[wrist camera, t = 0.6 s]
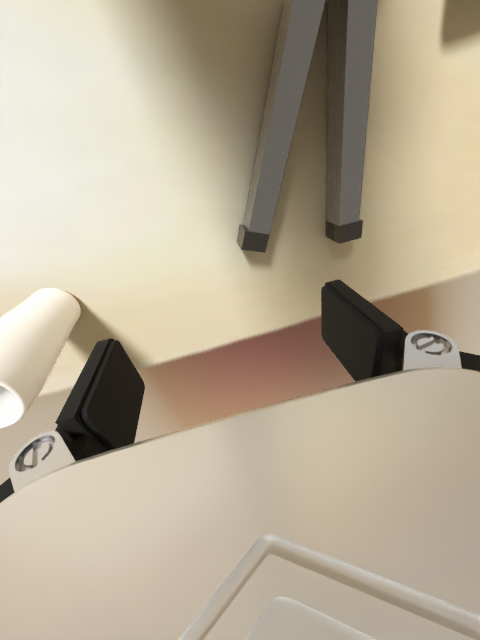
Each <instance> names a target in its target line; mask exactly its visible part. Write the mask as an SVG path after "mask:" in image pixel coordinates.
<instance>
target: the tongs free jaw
mask: <svg viewBox="0 0 480 640" xmlns="http://www.w3.org/2000/svg"><path fill="white" fill-rule="evenodd" d="M324 4H325V0H284V5H283V11H282V16H281V21H280V27H279V32H278V38H277V43H276V49H275V54H274V60H273V65H272V71H271V76H270V81H269V87H268V92H267V98H266V103H265V109H264V114H263V120H262V125H261V130H260V136H259V141H258V147H257V152H256V158H255V163H254V169H253V174H252V180H251V185H250V190H249V196H248V201H247V207H246V212H245V218H244V223H243V225H240V227H239V232H238V238H237V243H238V244H239V246H240V248H241V249H243V250H251V251H258V252H265V251H266V247H267V242H268V238H269V233H270V229H271V225H272V220H273V216H274V212H275V208H276V204H277V200H278V195H279V191H280V187H281V183H282V179H283V175H284V171H285V166H286V162H287V158H288V154H289V150H290V146H291V141H292V137H293V133H294V129H295V125H296V121H297V117H298V112H299V108H300V104H301V100H302V96H303V92H304V88H305V83H306V79H307V75H308V71H309V67H310V63H311V58H312V54H313V50H314V46H315V42H316V38H317V34H318V29H319V25H320V21H321V17H322V13H323V9H324Z"/></svg>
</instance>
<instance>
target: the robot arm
mask: <svg viewBox="0 0 480 640" xmlns="http://www.w3.org/2000/svg"><path fill="white" fill-rule="evenodd" d="M321 301H322V337H323V340H324V341H325V342H326V344H327V345H328V346H329V348H330V349H331V350H332V352H333V353H334V354H335V355H336V357H337V358H338V359H339V361H340V362H341V363H342V364H343V366H344V367H345V368H346V370H347V371H348V372H349V374H350V375H351V376H352V377H353V379H354V380H355V381H356V382H353V383H349V384H345V385H341V386H337V387H334V388H330V389H326V390H323V391H319V392H315V393H312V394H308V395H304V396H301V397H297V398H293V399H290V400H286V401H283V402H279V403H275V404H271V405H268V406H265V407H261V408H257V409H254V410H250V411H246V412H243V413H239V414H236V415H232V416H229V417H225V418H222V419H218V420H214V421H210V422H207V423H203V424H200V425H197V426H193V427H189V428H186V429H182V430H179V431H175V432H172V433H169V434H165V435H161V436H158V437H154V438H151V439H147V440H144V441H140V442H137V443H134V440H135V435H136V430H137V425H138V420H139V415H140V410H141V405H142V399H143V394H144V389H145V386H144V382H143V380H142V378H141V377H140V375H139V373H138V372H137V370H136V368H135V367H134V365H133V364H132V362H131V360H130V359H129V357H128V355H127V354H126V352H125V350H124V349H123V347H122V345H121V344H120V342H119V341H117V340H116V341H115V340H114V339H112V338H111V339H107V340H103V341H99V342H97V343H96V345H95V347H94V349H93V351H92V353H91V355H90V357H89V359H88V360H87V362H86V364H85V366H84V368H83V370H82V372H81V374H80V376H79V378H78V380H77V382H76V384H75V386H74V388H73V390H72V391H71V394H70V395H69V397H68V399H67V401H66V403H65V405H64V407H63V409H62V411H61V413H60V415H59V417H58V419H57V421H56V422H55V423H57V424H58V426H57V428H56V430H55V431H48V432H44V433H42V434H39V435H37V436H36V437H34V438H33V439H31V440H30V441H29V442H27V443H26V444H25V445H24V446H22V448H21V449H20V450H19V451H18V452H17V453H16V455H15V456H14V457H13V459H12V461H11V463H10V466H9V475H10V478H9V479H8V480H6V481H5V482H4V483H3V484H2V485H0V640H480V356H479V355H474V354H469V353H464V352H460V351H459V348H458V346H457V344H456V343H455V342H454V341H453V340H452V339H451V338H449V337H448V336H446V335H443V334H441V333H438V332H434V331H425V330H420V331H414V332H411V333H410V334H408V333H406V332H405V331H404V330H403V328H402V327H401V326H400V325H398V324H397V323H396V322H394V321H393V320H392V319H391V318H389V317H388V316H387V315H385V314H384V313H383V312H381V311H380V310H379V309H378V308H376V307H375V306H374V305H372V304H371V303H370V302H368V301H367V300H366V299H364V298H363V297H362V296H360V295H359V294H358V293H356V292H355V291H354V290H353V289H351V288H350V287H349V286H347V285H346V284H345V283H343V282H342V281H341V280H334V281H331V282H327V283H325V286H324V287H322V290H321Z"/></svg>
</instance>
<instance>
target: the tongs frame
mask: <svg viewBox="0 0 480 640" xmlns="http://www.w3.org/2000/svg"><path fill="white" fill-rule="evenodd" d="M377 1H378V0H328V23H327V136H326V237H328V238H330V239H332V240H334V241H335V242H337V243H343V242H347V241H350V240H354V239H358V238H361V234H362V223H363V220H360V219H359V215H360V203H361V191H362V179H363V167H364V155H365V143H366V132H367V120H368V108H369V96H370V84H371V72H372V60H373V49H374V37H375V25H376V13H377Z"/></svg>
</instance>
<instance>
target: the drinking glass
mask: <svg viewBox="0 0 480 640" xmlns="http://www.w3.org/2000/svg"><path fill="white" fill-rule="evenodd" d="M80 314H81V308H80V305H79V303H78V301H77V300H76V299H75V298H74V297H73V296H72V295H71V294H69V293H68V292H66V291H63V290H61V289H57V288H44V289H40V290H38V291H36V292H35V293H33V294H32V295H31V296H30V297H29V298H28V299H26V300H25V301H23V302H22V303H20V304H19V305H17V306H16V307H15V308H13V309H12V310H10V311H9V312H7V313H6V314H4V315H3V316H1V317H0V428H5V427H8V426H10V425H13V424H15V423H16V422H18V421H19V420H20V419H21V418H22V417H23V416H24V415H25V413H26V412H27V410H28V409H29V408H30V406H31V405H32V404H33V402H34V400H35V399H36V398H37V396H38V395H39V393H40V392H41V390H42V388H43V387H44V385H45V383H46V382H47V380H48V378H49V376H50V374H51V372H52V370H53V368H54V366H55V364H56V362H57V360H58V358H59V356H60V354H61V351H62V349H63V347H64V345H65V343H66V341H67V339H68V337H69V335H70V333H71V331H72V329H73V327H74V325H75V323H76V322H77V320H78V319H79V317H80Z"/></svg>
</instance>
